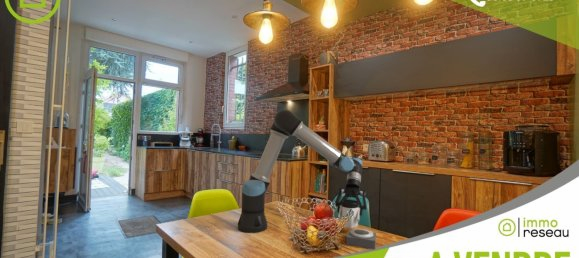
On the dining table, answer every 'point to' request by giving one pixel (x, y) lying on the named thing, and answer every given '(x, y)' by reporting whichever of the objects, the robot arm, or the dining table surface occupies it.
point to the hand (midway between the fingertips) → (348, 219)
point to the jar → (346, 206)
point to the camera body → (361, 238)
